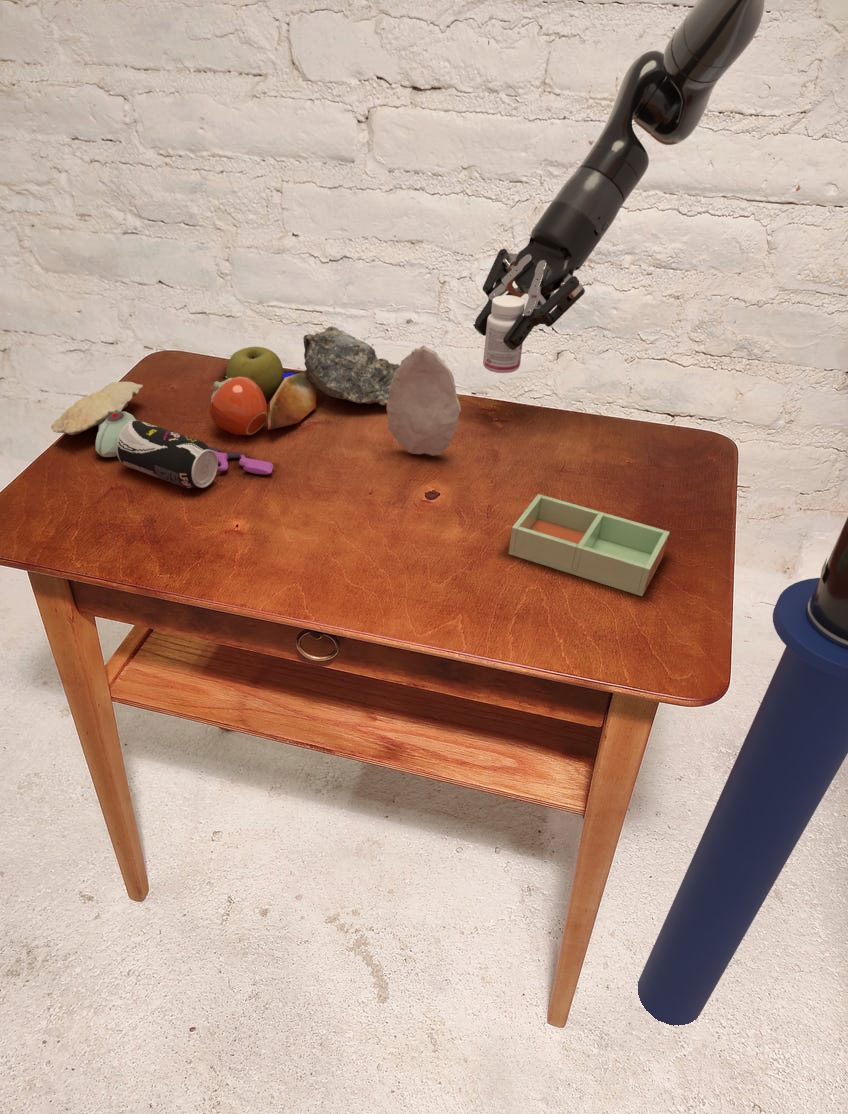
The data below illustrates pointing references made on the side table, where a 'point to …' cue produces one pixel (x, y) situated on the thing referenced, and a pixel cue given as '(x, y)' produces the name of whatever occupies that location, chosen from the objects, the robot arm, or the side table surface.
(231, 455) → the pink plastic clamp
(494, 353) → the pill bottle
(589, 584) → the side table surface
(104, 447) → the robot head
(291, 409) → the decorative stone
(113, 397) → the stone tool
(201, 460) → the beverage can
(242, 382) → the tomato
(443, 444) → the stone tool
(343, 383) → the rock
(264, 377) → the apple
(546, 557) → the divided tray
